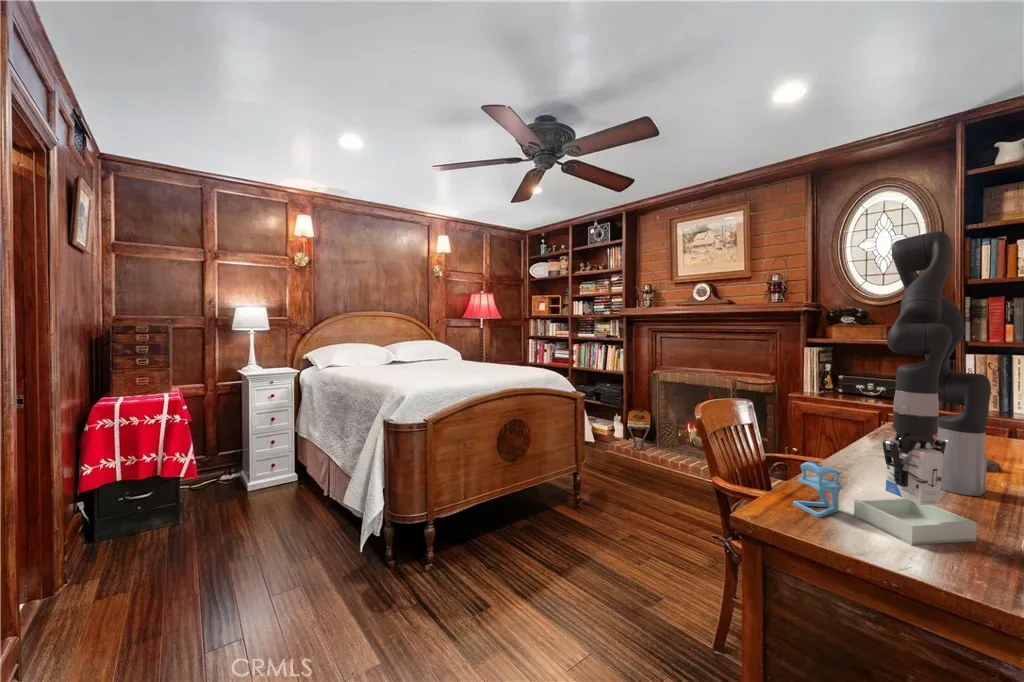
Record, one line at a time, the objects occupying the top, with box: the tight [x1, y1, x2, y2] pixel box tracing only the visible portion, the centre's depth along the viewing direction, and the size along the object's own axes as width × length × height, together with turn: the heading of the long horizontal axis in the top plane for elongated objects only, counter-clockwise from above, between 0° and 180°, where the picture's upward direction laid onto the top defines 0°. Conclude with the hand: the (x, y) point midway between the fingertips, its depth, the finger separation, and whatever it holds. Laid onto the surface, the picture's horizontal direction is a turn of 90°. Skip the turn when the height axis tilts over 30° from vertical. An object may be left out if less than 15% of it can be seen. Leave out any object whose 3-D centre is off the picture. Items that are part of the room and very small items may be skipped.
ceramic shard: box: [984, 456, 1002, 472], centre depth 145 cm, size 15×6×15 cm
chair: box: [792, 460, 844, 518], centre depth 109 cm, size 8×8×12 cm
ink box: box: [885, 448, 943, 506], centre depth 99 cm, size 9×5×12 cm, turn 5°
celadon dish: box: [853, 497, 978, 546], centre depth 99 cm, size 16×14×4 cm
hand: (912, 484), depth 99 cm, fingers closed on ink box, 5 cm apart
